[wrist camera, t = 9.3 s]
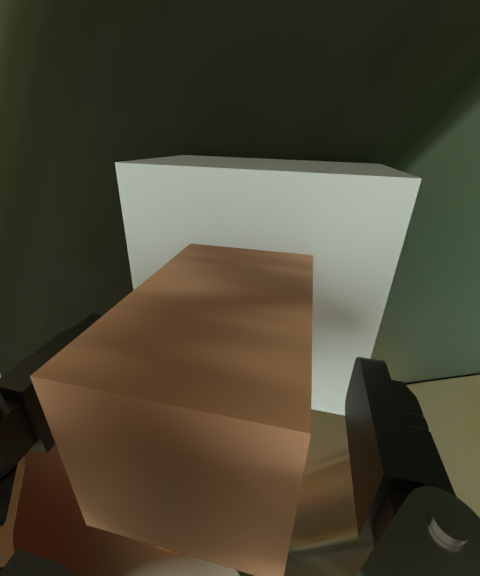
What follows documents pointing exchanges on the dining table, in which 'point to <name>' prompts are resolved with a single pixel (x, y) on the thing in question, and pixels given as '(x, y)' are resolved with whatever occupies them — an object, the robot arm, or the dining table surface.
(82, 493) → the terracotta block
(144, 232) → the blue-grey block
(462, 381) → the tall beige block
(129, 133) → the dining table surface
